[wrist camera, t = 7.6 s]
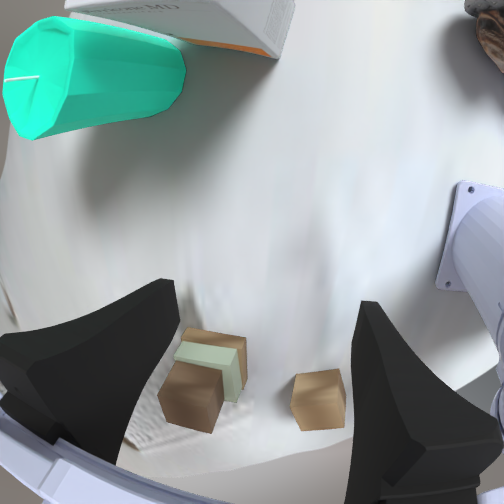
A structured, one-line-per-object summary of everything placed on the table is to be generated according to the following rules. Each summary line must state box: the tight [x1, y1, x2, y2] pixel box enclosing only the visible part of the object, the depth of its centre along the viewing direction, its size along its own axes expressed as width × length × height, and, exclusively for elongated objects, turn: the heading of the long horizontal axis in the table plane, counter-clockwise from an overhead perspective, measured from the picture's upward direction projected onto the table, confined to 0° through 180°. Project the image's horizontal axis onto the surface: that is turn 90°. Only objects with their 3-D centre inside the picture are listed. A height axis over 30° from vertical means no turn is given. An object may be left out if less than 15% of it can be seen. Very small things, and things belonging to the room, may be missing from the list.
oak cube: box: [290, 369, 346, 431], centre depth 25 cm, size 4×4×4 cm
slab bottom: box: [181, 327, 247, 390], centre depth 28 cm, size 6×6×2 cm
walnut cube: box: [157, 360, 225, 434], centre depth 23 cm, size 4×4×4 cm
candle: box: [2, 16, 186, 141], centre depth 13 cm, size 6×6×12 cm
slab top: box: [174, 341, 242, 403], centre depth 26 cm, size 5×5×2 cm
